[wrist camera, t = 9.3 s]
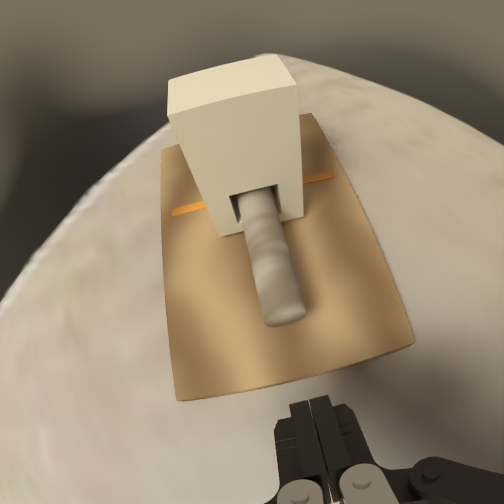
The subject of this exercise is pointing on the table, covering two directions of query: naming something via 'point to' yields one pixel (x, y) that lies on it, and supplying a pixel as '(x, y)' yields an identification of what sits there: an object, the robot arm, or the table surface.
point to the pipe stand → (273, 282)
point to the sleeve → (240, 136)
